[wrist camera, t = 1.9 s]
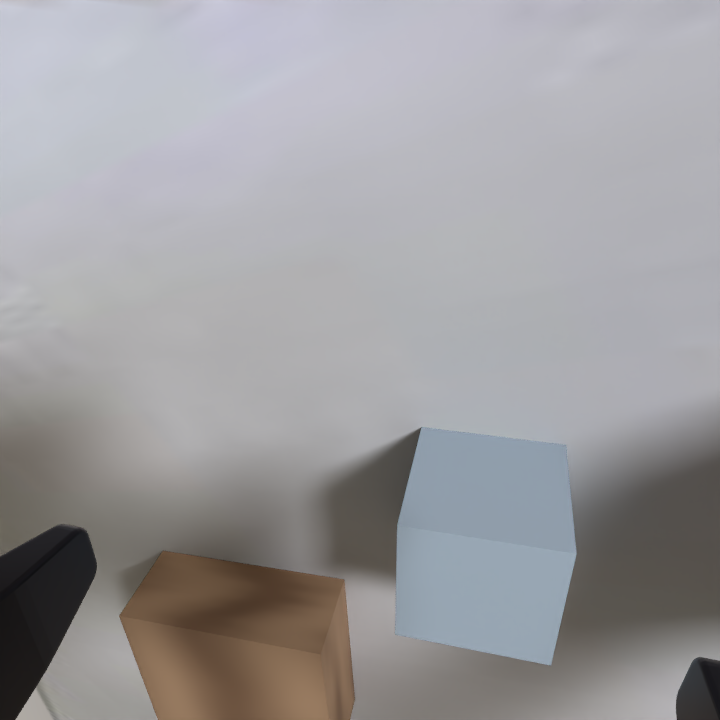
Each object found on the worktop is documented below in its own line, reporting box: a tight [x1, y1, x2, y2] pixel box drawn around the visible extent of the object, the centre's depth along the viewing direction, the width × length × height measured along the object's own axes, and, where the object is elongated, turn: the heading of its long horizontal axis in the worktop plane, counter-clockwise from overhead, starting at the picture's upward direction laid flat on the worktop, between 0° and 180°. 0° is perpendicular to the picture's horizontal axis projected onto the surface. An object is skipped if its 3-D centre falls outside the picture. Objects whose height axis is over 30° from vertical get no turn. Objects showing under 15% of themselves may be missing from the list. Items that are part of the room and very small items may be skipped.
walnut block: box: [119, 551, 355, 720], centre depth 28 cm, size 9×9×4 cm
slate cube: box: [395, 427, 577, 666], centre depth 20 cm, size 5×5×5 cm
